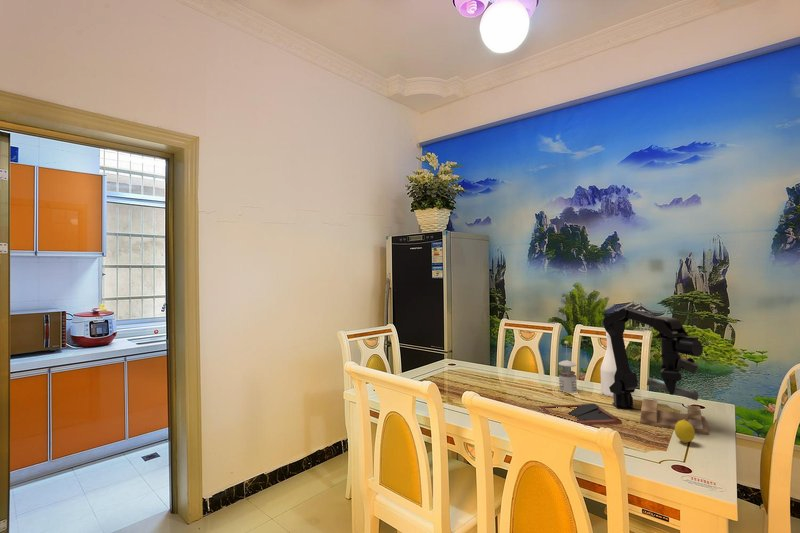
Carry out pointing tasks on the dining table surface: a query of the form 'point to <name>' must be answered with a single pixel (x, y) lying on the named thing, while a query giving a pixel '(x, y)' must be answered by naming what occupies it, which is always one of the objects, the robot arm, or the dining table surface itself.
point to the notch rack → (671, 417)
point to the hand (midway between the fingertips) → (671, 392)
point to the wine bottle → (608, 369)
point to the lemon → (684, 431)
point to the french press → (567, 381)
